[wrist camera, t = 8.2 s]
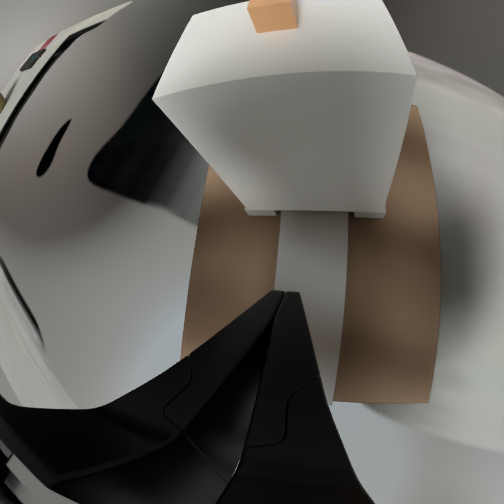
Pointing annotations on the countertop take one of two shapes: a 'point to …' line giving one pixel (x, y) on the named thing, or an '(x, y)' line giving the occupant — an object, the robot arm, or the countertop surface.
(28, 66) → the smart home device
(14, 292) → the countertop surface
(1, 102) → the squeeze bottle
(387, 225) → the rail board
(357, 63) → the block
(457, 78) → the countertop surface
